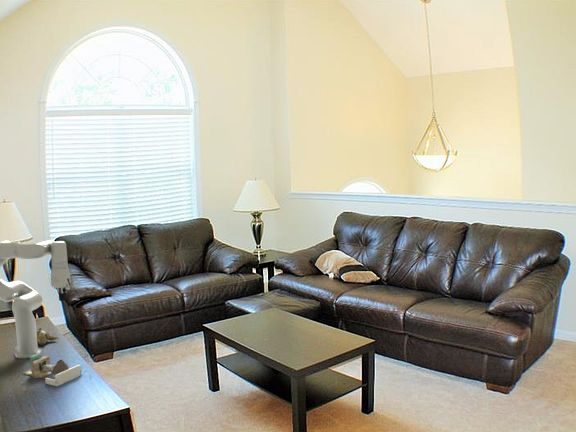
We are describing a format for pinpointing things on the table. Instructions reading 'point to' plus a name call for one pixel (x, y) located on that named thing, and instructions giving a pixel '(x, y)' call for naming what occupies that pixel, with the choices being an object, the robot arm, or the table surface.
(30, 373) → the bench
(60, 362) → the vase
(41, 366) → the mallet
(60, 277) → the robot arm
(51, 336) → the ceramic sculpture
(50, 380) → the cradle
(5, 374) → the table surface
